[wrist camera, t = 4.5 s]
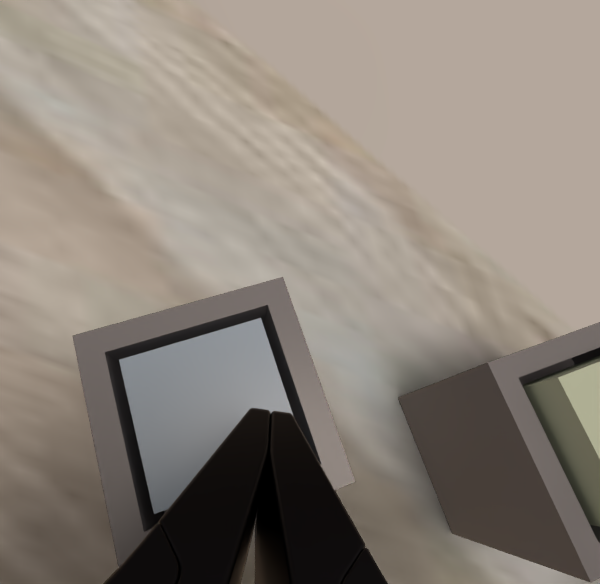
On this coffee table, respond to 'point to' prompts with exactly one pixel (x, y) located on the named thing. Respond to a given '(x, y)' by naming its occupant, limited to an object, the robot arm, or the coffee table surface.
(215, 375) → the slate-blue button
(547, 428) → the sage-green button
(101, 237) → the coffee table surface
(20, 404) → the coffee table surface
